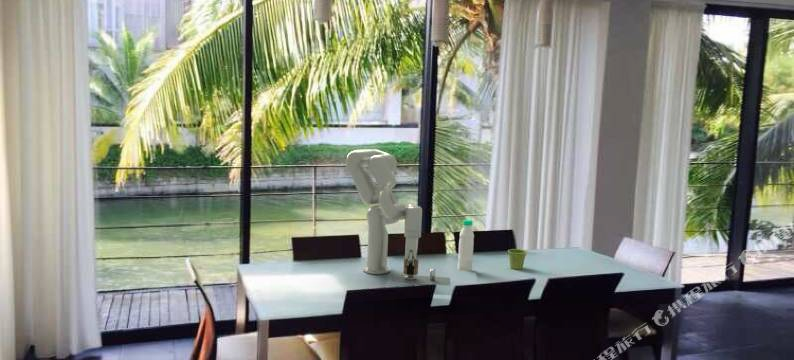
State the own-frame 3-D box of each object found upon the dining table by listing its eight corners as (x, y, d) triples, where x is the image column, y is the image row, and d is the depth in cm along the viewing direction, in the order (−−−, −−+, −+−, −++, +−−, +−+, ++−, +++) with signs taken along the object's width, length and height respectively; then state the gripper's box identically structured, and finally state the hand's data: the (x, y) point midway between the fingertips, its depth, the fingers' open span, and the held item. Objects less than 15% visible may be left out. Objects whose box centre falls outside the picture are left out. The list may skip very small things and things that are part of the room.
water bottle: (474, 270, 327) (477, 220, 323) (468, 273, 321) (471, 222, 317) (461, 267, 330) (464, 218, 327) (454, 270, 324) (457, 220, 321)
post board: (393, 277, 308) (393, 273, 308) (450, 280, 306) (450, 277, 306) (391, 284, 296) (391, 281, 296) (449, 288, 294) (450, 285, 294)
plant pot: (517, 271, 328) (518, 254, 326) (502, 267, 335) (504, 250, 334) (529, 269, 334) (530, 252, 332) (515, 264, 341) (516, 248, 340)
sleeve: (404, 270, 304) (404, 258, 304) (418, 271, 304) (418, 259, 303) (403, 274, 298) (403, 261, 297) (417, 275, 298) (418, 262, 297)
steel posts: (405, 276, 304) (405, 262, 303) (435, 278, 303) (436, 264, 302) (404, 279, 299) (404, 265, 298) (434, 281, 298) (435, 267, 297)
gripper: (405, 228, 307) (403, 266, 310) (402, 236, 290) (400, 276, 293) (421, 229, 307) (419, 267, 309) (420, 238, 290) (417, 278, 292)
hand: (410, 271), depth 301 cm, fingers closed on sleeve, 6 cm apart
